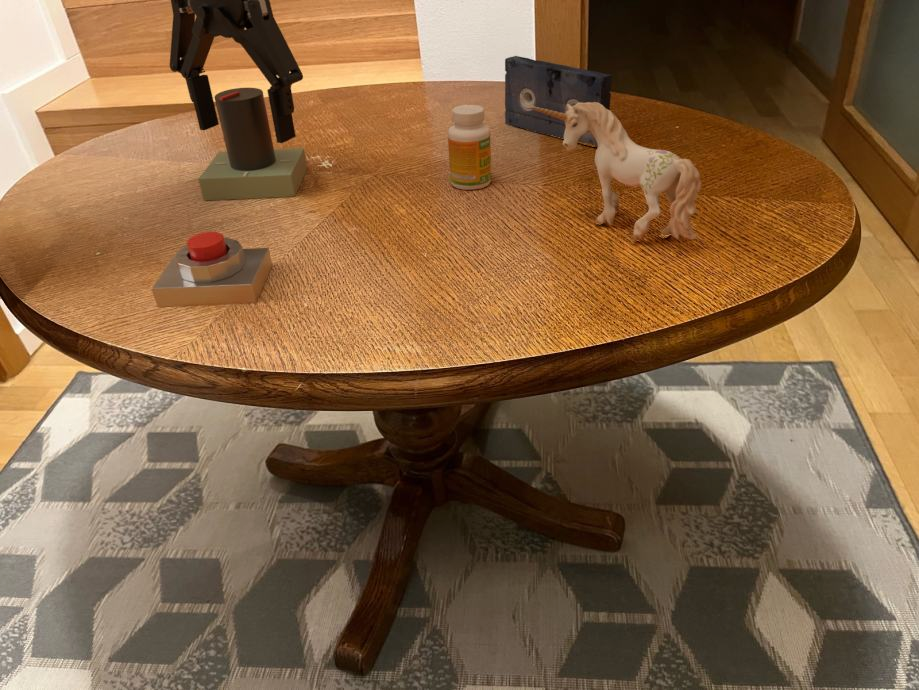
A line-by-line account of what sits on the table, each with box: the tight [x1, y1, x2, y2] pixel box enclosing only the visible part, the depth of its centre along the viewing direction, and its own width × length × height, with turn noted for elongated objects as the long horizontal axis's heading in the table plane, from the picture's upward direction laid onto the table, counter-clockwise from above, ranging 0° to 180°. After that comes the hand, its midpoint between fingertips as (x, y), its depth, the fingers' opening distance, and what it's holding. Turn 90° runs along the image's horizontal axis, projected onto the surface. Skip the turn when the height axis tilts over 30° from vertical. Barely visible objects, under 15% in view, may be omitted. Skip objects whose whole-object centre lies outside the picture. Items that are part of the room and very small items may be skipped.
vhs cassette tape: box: [504, 55, 613, 146], centre depth 108 cm, size 18×3×10 cm, turn 42°
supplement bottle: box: [447, 104, 492, 191], centre depth 94 cm, size 5×5×10 cm
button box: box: [151, 236, 273, 308], centre depth 75 cm, size 10×8×4 cm
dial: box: [214, 87, 276, 171], centre depth 95 cm, size 6×6×9 cm
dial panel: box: [197, 147, 308, 201], centre depth 99 cm, size 12×10×3 cm
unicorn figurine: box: [531, 102, 702, 242], centre depth 80 cm, size 7×20×13 cm, turn 56°
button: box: [186, 231, 227, 261], centre depth 74 cm, size 4×4×2 cm
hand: (247, 133), depth 96 cm, fingers open, 13 cm apart
